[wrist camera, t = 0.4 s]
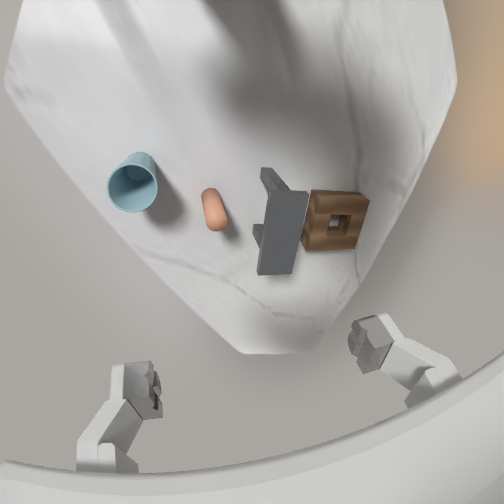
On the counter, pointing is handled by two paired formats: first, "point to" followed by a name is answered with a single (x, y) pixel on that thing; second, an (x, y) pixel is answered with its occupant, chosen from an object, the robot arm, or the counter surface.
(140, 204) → the cup
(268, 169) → the grey u-shaped bracket
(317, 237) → the socket
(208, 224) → the peg
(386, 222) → the counter surface
